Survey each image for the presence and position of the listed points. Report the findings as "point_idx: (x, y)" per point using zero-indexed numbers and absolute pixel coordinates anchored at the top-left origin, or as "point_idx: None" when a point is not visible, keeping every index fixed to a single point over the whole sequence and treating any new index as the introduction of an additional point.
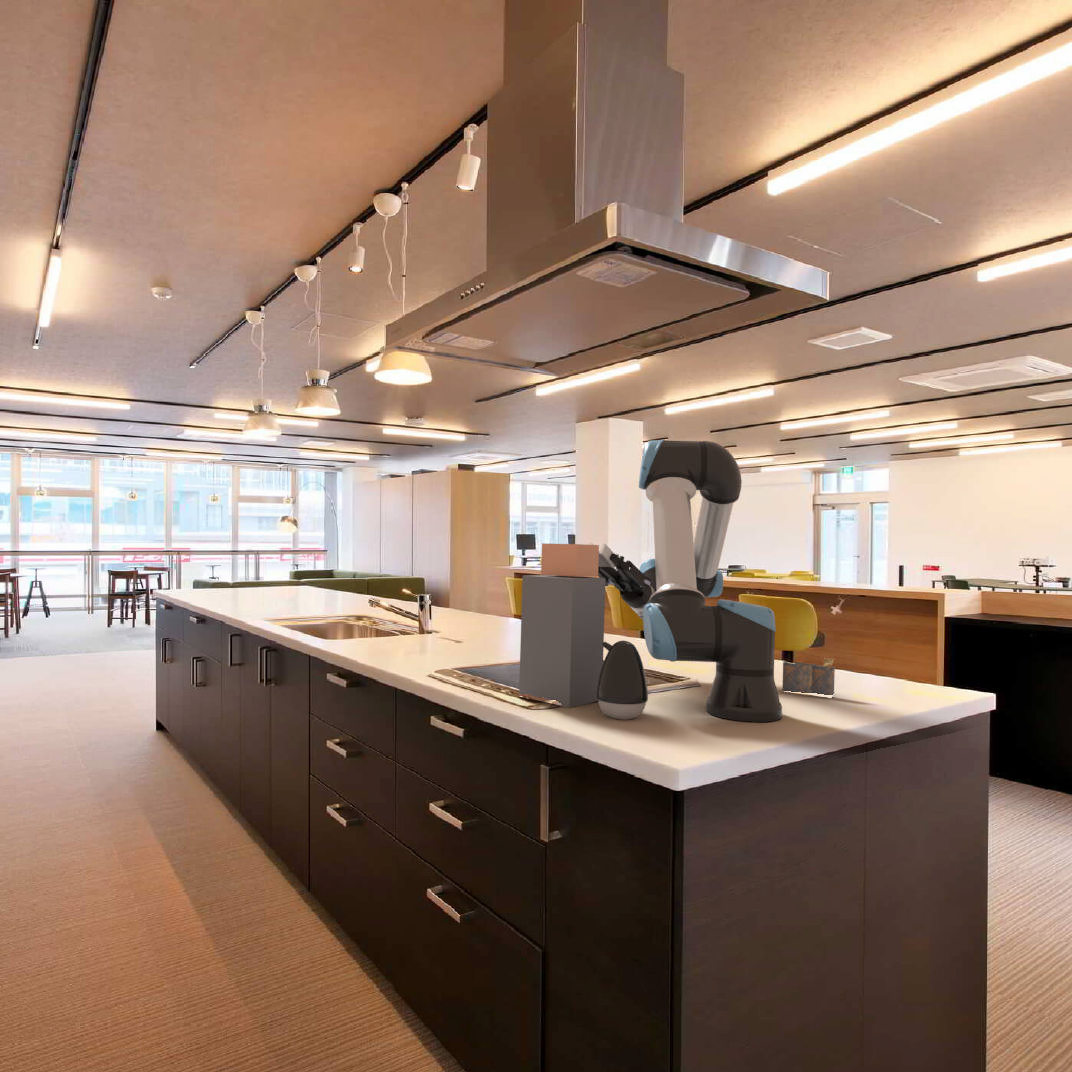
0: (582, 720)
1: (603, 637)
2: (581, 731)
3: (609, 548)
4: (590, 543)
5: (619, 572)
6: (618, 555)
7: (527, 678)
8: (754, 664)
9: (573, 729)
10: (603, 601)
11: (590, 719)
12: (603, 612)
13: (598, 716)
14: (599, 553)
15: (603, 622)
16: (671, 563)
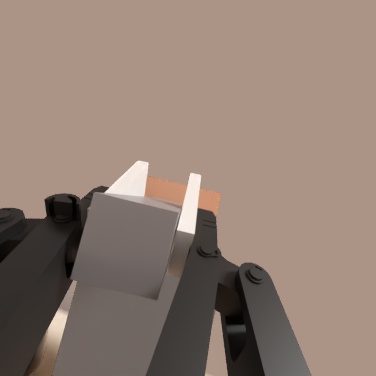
0: (56, 349)
1: (53, 369)
2: (55, 320)
3: (127, 171)
4: (196, 174)
5: (51, 308)
6: (94, 199)
7: None
8: None
9: (63, 322)
10: (78, 285)
11: (46, 356)
12: (71, 310)
13: (34, 372)
14: (143, 195)
15: (64, 333)
16: None
